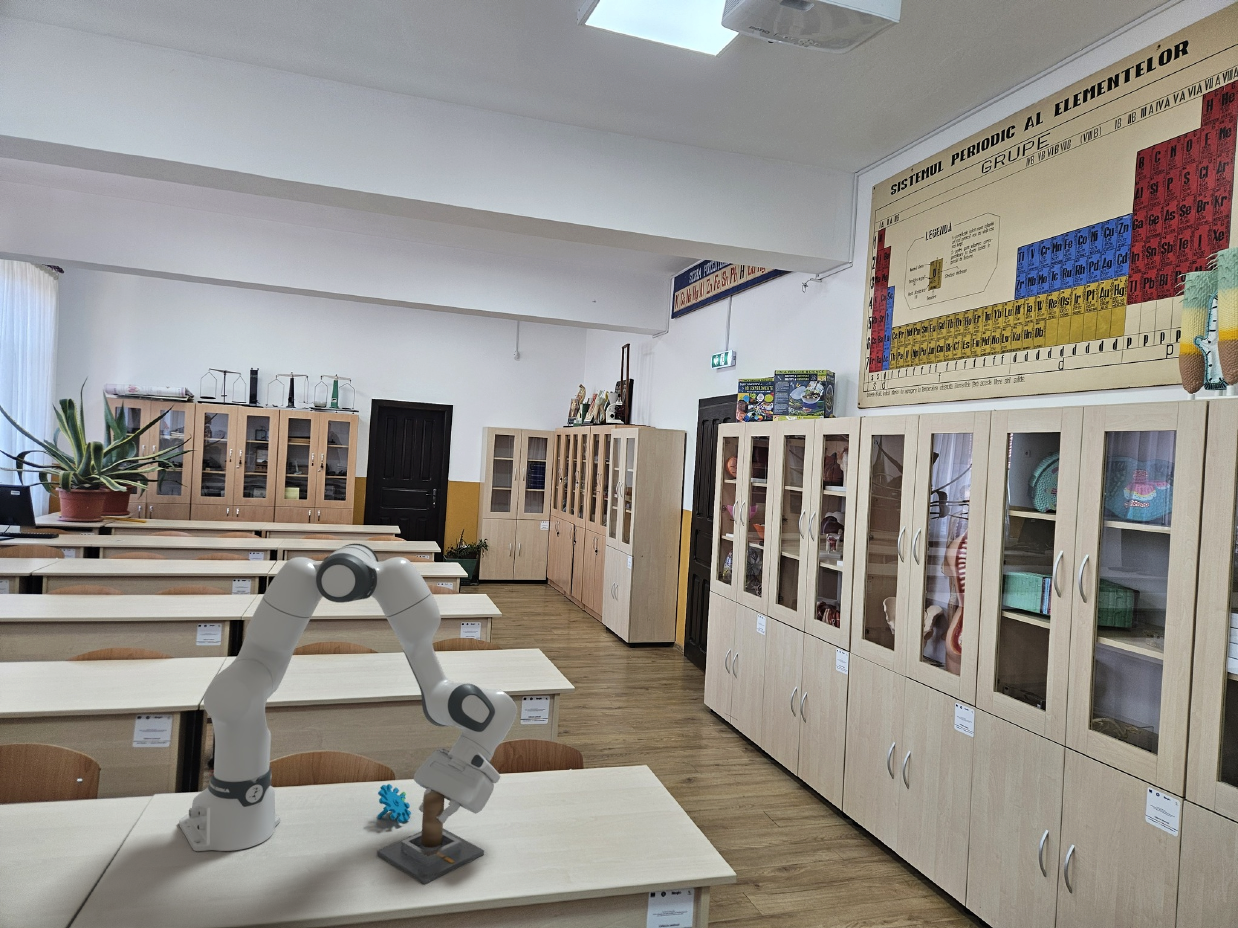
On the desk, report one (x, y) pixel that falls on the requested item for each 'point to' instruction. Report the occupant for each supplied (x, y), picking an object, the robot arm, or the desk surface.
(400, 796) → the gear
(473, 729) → the robot arm
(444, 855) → the square frame on plate
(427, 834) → the pin
